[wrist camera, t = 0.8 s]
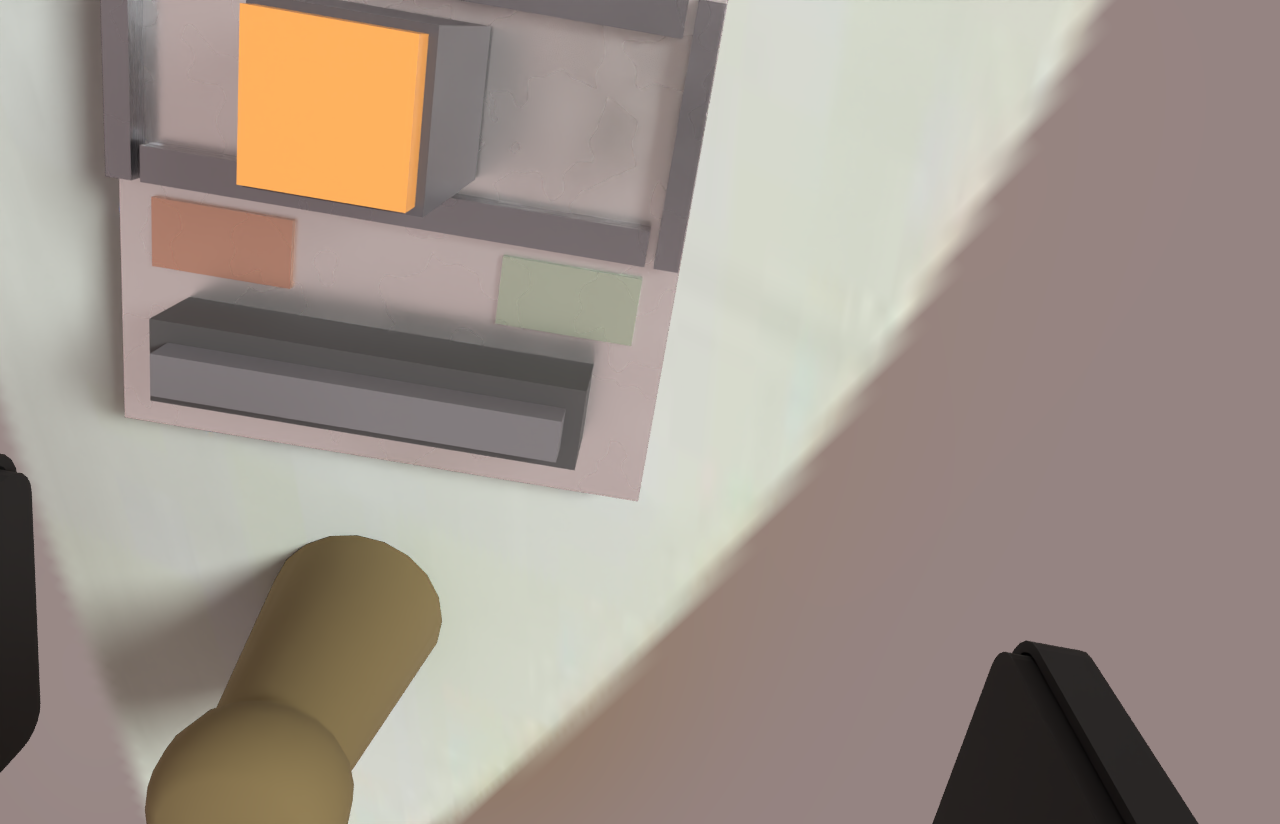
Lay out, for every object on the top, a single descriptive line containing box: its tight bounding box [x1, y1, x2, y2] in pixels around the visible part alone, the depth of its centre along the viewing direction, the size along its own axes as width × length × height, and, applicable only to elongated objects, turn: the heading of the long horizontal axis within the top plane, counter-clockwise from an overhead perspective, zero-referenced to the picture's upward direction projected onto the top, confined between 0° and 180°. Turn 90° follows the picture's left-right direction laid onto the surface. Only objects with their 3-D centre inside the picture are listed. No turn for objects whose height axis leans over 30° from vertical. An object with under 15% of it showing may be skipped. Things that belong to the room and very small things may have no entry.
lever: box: [236, 0, 491, 217], centre depth 24 cm, size 4×4×7 cm
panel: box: [100, 0, 728, 501], centre depth 28 cm, size 22×16×3 cm
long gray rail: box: [149, 297, 594, 470], centre depth 26 cm, size 18×12×3 cm, turn 171°
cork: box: [145, 536, 442, 824], centre depth 30 cm, size 6×6×11 cm
